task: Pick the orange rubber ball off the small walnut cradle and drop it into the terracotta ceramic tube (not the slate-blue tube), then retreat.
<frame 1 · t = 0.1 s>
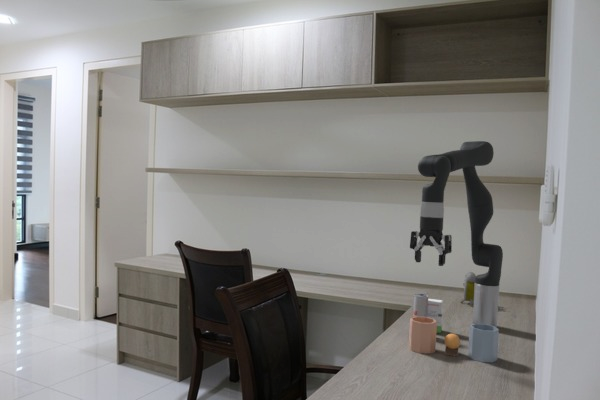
hand: (429, 263, 165), 29 cm above the table, fingers open, 8 cm apart
tube slate: (482, 357, 160), on the table
grey ball: (482, 348, 160), point 3 cm above the table, touching tube slate
orange ball: (452, 341, 163), point 4 cm above the table, touching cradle
tube terracotta: (421, 349, 166), on the table
ink box: (429, 330, 189), on the table
beverage can: (419, 335, 182), on the table
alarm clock: (467, 304, 237), on the table
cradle: (451, 353, 163), on the table
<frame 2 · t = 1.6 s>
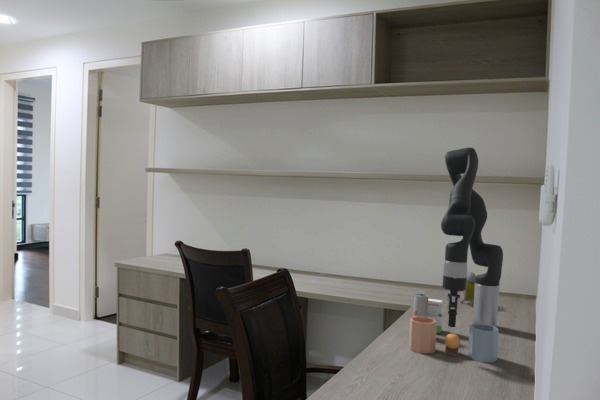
hand: (452, 323, 163), 10 cm above the table, fingers open, 8 cm apart
nothing on the table moved.
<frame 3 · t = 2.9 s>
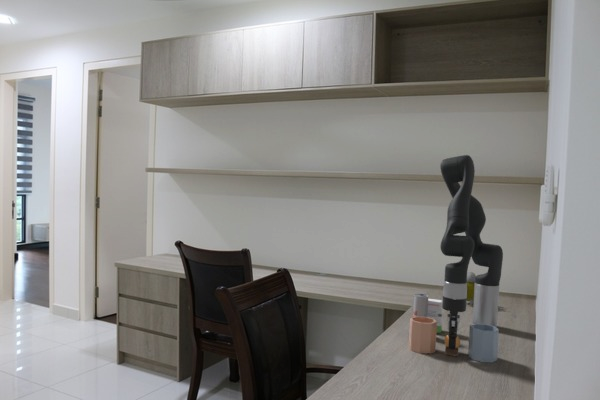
hand: (451, 346, 163), 2 cm above the table, fingers closed on orange ball, 5 cm apart
orange ball: (452, 341, 163), point 4 cm above the table, touching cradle, gripper
everything else where it was.
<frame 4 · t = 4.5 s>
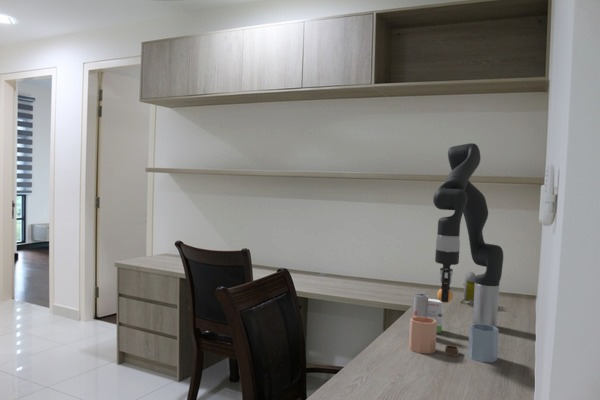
hand: (444, 299, 163), 18 cm above the table, fingers closed on orange ball, 5 cm apart
orange ball: (445, 295, 163), point 19 cm above the table, touching gripper
everything else where it was.
when the fingers open (11 cm above the table, at t = 6.2 s): orange ball drops 10 cm, resting on tube terracotta.
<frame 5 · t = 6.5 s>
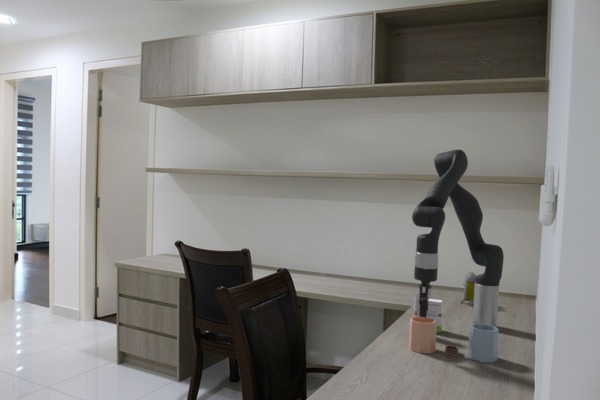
hand: (423, 313, 166), 12 cm above the table, fingers open, 8 cm apart
orange ball: (422, 340, 166), point 3 cm above the table, touching tube terracotta
everything else where it was.
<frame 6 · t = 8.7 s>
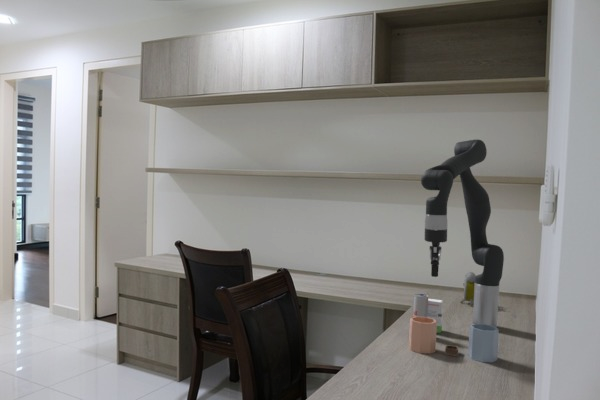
hand: (434, 274, 171), 25 cm above the table, fingers open, 8 cm apart
nothing on the table moved.
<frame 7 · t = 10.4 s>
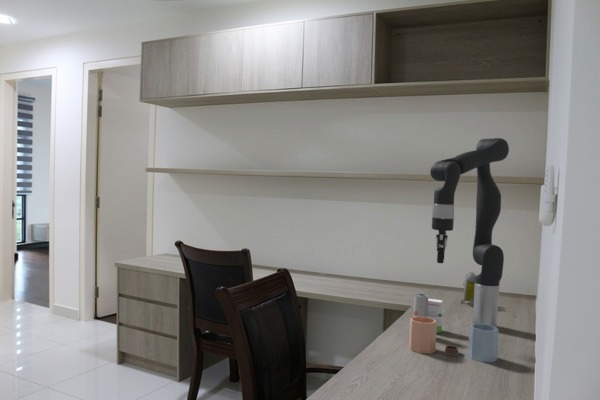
hand: (440, 261, 178), 28 cm above the table, fingers open, 8 cm apart
nothing on the table moved.
at the end: orange ball 0.0 cm off-centre on the tube terracotta, point 2.9 cm above the tube terracotta's base; the gripper is holding nothing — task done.
